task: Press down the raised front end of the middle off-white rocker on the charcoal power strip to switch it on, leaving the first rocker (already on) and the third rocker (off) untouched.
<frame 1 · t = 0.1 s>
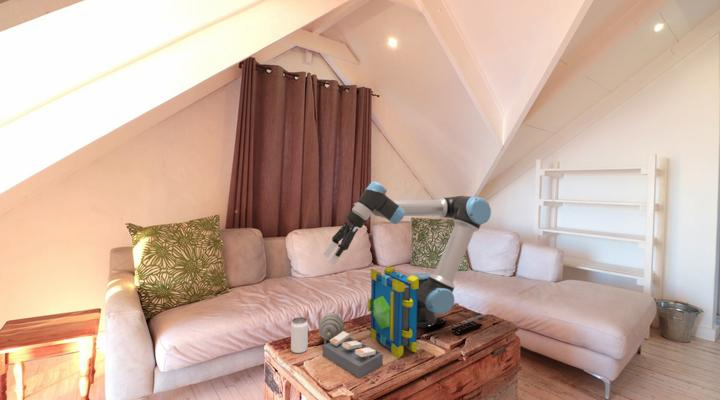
hand: (328, 259, 130), 36 cm above the table, tool tilted 35°, fingers open, 13 cm apart
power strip: (352, 360, 122), on the table
rocker 2: (352, 345, 122), point 6 cm above the table, hinge at -12.0°
decorative book: (392, 345, 134), on the table
can: (299, 350, 129), on the table
grey ribbed rounded piece: (330, 341, 137), on the table
rocker 1: (339, 338, 127), point 6 cm above the table, hinge at 12.0°
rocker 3: (365, 352, 117), point 6 cm above the table, hinge at -12.0°
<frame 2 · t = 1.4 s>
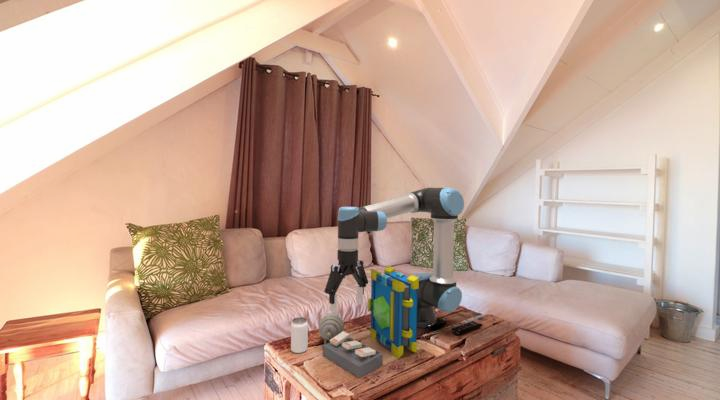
hand: (347, 307, 119), 21 cm above the table, tool pointing down, fingers open, 12 cm apart
nothing on the table moved.
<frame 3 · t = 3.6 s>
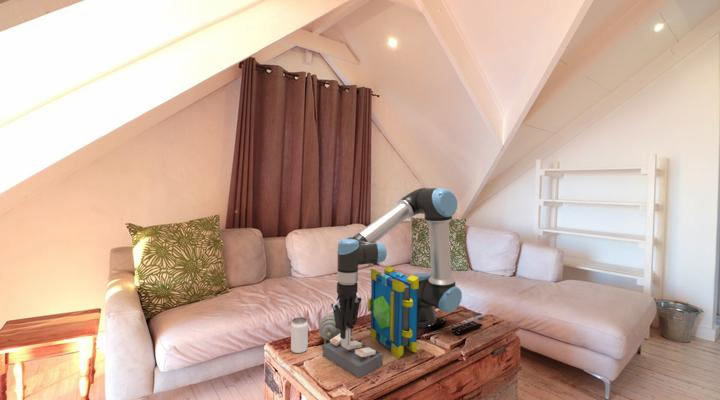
hand: (345, 345, 120), 7 cm above the table, tool pointing down, fingers closed, pressing on rocker 2
rocker 2: (352, 345, 122), point 6 cm above the table, hinge at -11.4°, touching gripper
everything else where it was.
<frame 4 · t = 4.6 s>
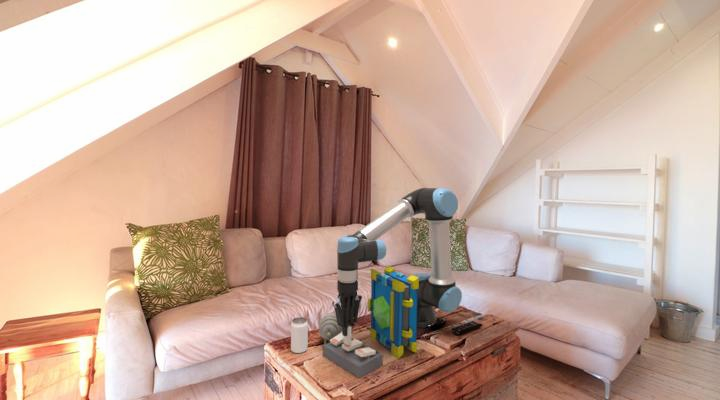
hand: (347, 343, 120), 7 cm above the table, tool pointing down, fingers closed
rocker 2: (352, 345, 122), point 6 cm above the table, hinge at -1.5°
everything else where it was.
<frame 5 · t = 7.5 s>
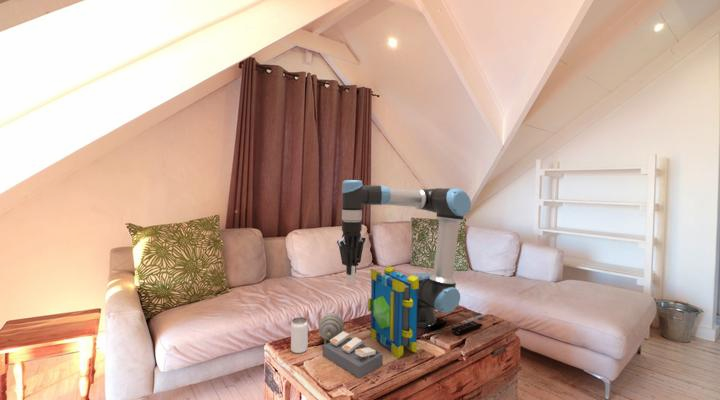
hand: (351, 282, 124), 28 cm above the table, tool pointing down, fingers closed
rocker 2: (352, 345, 122), point 6 cm above the table, hinge at 13.5°
everything else where it was.
at the end: rocker 2 at +14° (first picture: -12°); rocker 1 at +12° (first picture: +12°); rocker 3 at -12° (first picture: -12°) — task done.
